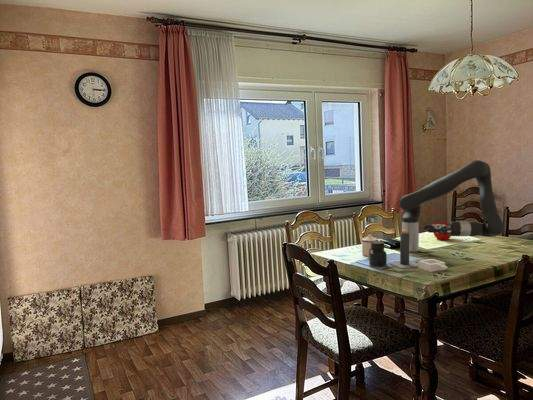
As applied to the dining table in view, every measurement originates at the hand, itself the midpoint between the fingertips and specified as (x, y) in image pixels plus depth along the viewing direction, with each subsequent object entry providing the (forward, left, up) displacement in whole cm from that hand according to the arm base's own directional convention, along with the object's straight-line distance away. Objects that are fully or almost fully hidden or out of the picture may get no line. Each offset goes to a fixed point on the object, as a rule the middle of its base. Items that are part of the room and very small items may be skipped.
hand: (425, 228), depth 213 cm
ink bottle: (-10, -22, -19) cm, 31 cm away
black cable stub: (-4, -10, -18) cm, 21 cm away
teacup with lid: (-32, -12, -19) cm, 39 cm away
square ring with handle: (+11, -3, -19) cm, 22 cm away
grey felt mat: (-4, -10, -19) cm, 22 cm away
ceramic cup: (-46, +50, -19) cm, 71 cm away
